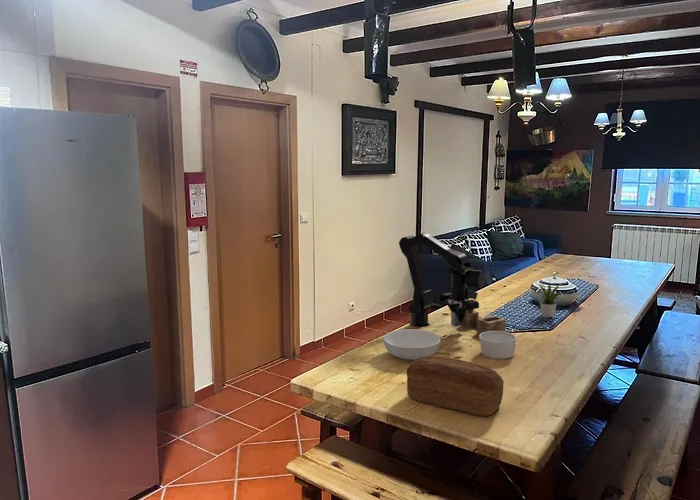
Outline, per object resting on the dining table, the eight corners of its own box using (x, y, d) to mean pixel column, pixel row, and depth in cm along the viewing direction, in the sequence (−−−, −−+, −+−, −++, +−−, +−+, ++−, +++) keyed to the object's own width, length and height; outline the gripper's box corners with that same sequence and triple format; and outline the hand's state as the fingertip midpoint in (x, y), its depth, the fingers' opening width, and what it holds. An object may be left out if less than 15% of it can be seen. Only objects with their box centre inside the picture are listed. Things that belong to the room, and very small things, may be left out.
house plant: (527, 319, 235) (528, 283, 232) (529, 310, 247) (530, 276, 245) (561, 321, 229) (563, 285, 227) (562, 313, 242) (563, 278, 239)
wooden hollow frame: (488, 337, 212) (489, 316, 211) (458, 325, 229) (458, 306, 227) (505, 333, 216) (505, 313, 215) (474, 322, 233) (474, 303, 231)
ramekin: (471, 351, 198) (471, 333, 196) (500, 346, 203) (500, 328, 201) (494, 363, 185) (494, 344, 184) (524, 357, 191) (524, 338, 189)
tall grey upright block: (454, 326, 216) (454, 312, 215) (451, 325, 219) (451, 311, 218) (466, 324, 219) (466, 310, 218) (462, 322, 221) (462, 309, 220)
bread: (421, 384, 171) (420, 347, 169) (507, 403, 155) (508, 364, 153) (400, 400, 159) (399, 361, 157) (491, 423, 144) (492, 380, 142)
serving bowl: (403, 370, 182) (403, 351, 181) (373, 352, 200) (372, 334, 199) (452, 358, 191) (452, 340, 190) (418, 342, 210) (418, 325, 208)
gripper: (489, 286, 212) (489, 323, 214) (459, 277, 228) (459, 312, 230) (468, 289, 206) (467, 328, 209) (438, 281, 223) (438, 316, 225)
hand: (458, 321), depth 219 cm, fingers closed on tall grey upright block, 2 cm apart
